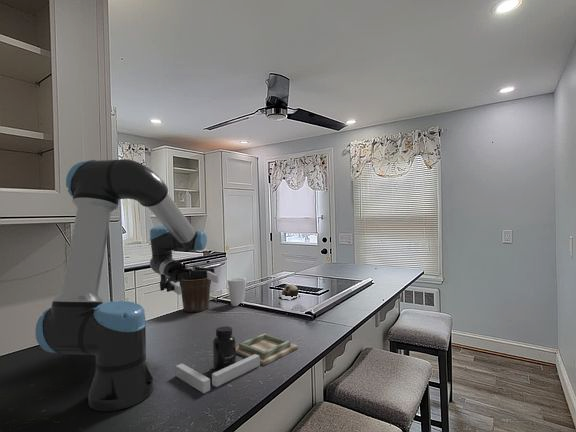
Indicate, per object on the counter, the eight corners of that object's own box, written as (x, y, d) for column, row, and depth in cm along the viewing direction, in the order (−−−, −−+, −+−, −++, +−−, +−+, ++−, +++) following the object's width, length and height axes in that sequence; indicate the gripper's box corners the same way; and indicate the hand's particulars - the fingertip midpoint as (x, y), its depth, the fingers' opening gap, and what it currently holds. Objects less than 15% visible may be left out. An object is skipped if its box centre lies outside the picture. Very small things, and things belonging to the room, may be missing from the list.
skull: (272, 296, 178) (280, 280, 183) (282, 306, 184) (289, 290, 189) (290, 299, 170) (297, 282, 176) (299, 308, 176) (306, 292, 182)
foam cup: (245, 306, 162) (244, 280, 162) (226, 307, 163) (226, 281, 162) (247, 301, 172) (247, 277, 172) (230, 301, 172) (229, 277, 172)
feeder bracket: (203, 393, 85) (203, 381, 85) (175, 376, 94) (175, 365, 94) (259, 365, 99) (259, 355, 99) (231, 353, 109) (230, 344, 109)
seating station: (264, 365, 100) (264, 357, 100) (231, 351, 110) (231, 343, 110) (297, 348, 112) (297, 341, 111) (265, 337, 122) (265, 330, 122)
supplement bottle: (231, 374, 94) (230, 333, 94) (209, 372, 96) (208, 332, 95) (239, 363, 101) (238, 325, 101) (218, 362, 102) (217, 324, 102)
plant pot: (195, 315, 149) (194, 280, 149) (171, 311, 157) (170, 277, 157) (219, 306, 163) (219, 274, 163) (196, 302, 171) (195, 272, 171)
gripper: (203, 271, 133) (231, 284, 118) (140, 289, 117) (163, 307, 101) (202, 253, 132) (230, 264, 117) (138, 269, 116) (161, 284, 100)
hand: (199, 284), depth 109 cm, fingers open, 13 cm apart
